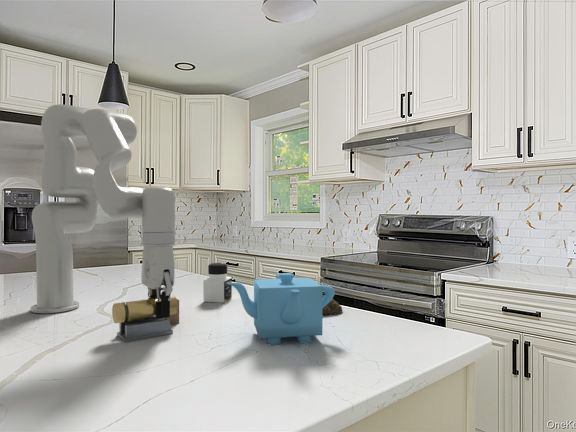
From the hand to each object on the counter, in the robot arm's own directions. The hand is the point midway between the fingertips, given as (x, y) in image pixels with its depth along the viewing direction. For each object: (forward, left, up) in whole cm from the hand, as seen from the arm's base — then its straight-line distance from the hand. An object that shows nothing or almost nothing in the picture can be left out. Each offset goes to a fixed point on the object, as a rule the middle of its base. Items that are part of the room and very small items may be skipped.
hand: (158, 314), depth 103 cm
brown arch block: (-10, +6, -4) cm, 12 cm away
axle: (0, -3, 0) cm, 3 cm away
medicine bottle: (-24, +28, -4) cm, 37 cm away
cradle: (0, -3, -4) cm, 5 cm away
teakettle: (+21, +21, -4) cm, 30 cm away
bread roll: (+7, +45, -5) cm, 46 cm away
